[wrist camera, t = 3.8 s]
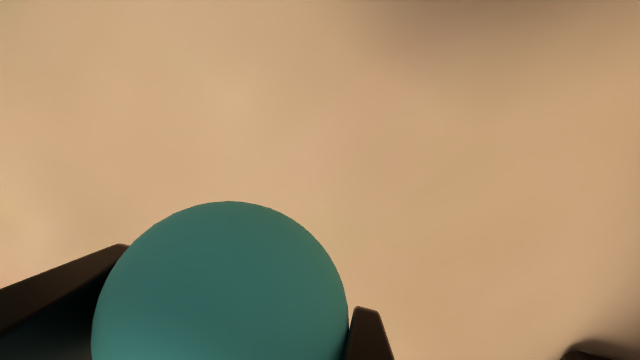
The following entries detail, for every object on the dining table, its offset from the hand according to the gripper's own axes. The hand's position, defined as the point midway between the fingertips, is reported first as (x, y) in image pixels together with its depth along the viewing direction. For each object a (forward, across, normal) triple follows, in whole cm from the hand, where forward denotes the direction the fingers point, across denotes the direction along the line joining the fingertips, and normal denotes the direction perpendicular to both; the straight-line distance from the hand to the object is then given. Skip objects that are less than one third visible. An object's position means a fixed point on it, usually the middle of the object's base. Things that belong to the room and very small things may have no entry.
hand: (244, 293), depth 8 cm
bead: (+1, 0, 0) cm, 1 cm away
